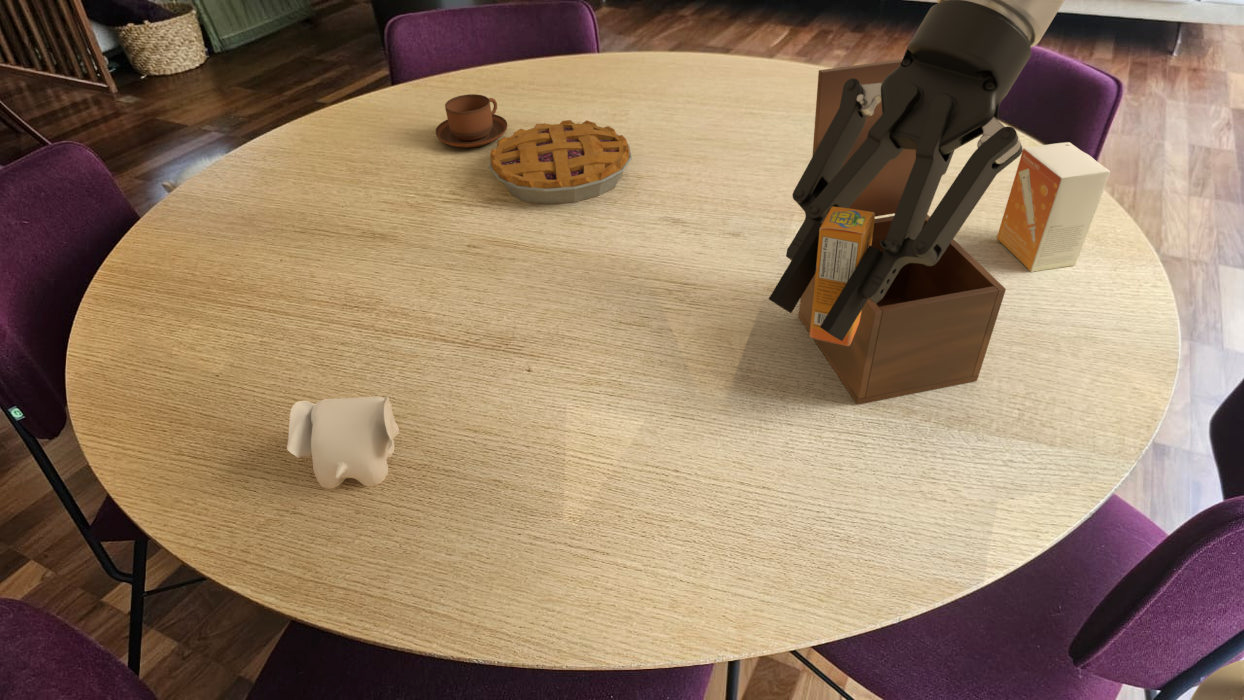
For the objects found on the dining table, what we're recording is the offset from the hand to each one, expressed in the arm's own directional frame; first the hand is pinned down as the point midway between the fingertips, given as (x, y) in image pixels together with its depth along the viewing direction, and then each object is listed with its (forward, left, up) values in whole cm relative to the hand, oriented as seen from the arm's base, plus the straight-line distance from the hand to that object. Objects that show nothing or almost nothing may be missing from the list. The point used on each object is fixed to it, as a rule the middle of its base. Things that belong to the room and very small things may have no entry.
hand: (805, 319), depth 58 cm
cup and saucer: (+74, -53, -22) cm, 94 cm away
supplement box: (-1, -4, -3) cm, 5 cm away
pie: (+53, -48, -22) cm, 75 cm away
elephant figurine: (+38, +12, -22) cm, 46 cm away
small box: (-14, -55, -22) cm, 61 cm away
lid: (+4, -34, -2) cm, 34 cm away
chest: (-2, -28, -22) cm, 35 cm away
